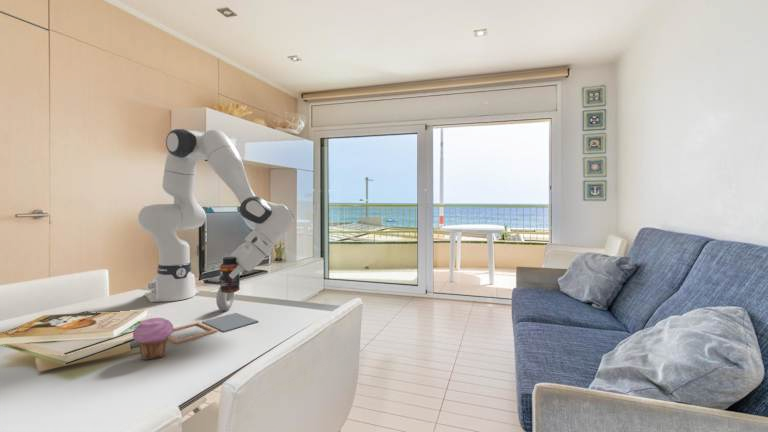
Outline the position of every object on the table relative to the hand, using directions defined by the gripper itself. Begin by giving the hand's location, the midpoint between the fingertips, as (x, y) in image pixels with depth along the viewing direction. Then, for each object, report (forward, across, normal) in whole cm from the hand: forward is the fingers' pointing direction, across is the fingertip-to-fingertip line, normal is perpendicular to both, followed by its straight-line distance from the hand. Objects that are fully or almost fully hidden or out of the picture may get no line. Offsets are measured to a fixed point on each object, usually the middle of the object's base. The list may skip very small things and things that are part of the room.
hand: (227, 275), depth 119 cm
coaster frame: (+20, +3, +3) cm, 20 cm away
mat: (+11, 0, +12) cm, 16 cm away
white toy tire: (+10, -15, +13) cm, 22 cm away
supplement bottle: (+4, 0, +4) cm, 6 cm away
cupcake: (+26, +17, -4) cm, 32 cm away
